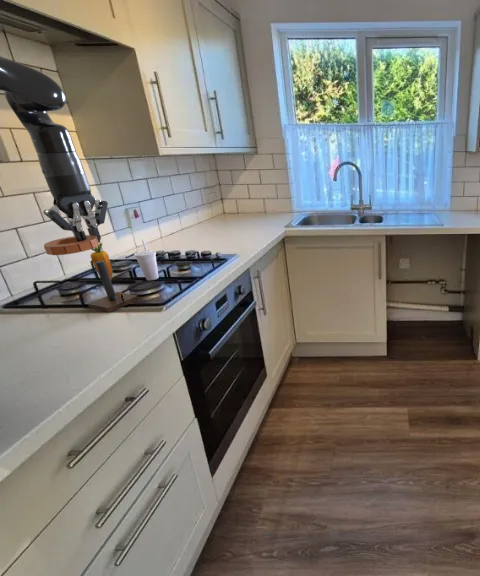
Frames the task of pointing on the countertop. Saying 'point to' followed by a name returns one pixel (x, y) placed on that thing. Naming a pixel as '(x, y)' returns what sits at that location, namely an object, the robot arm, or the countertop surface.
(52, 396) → the countertop surface
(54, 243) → the hang ring
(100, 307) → the peg stand
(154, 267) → the smoothie
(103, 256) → the carrot
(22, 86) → the robot arm
